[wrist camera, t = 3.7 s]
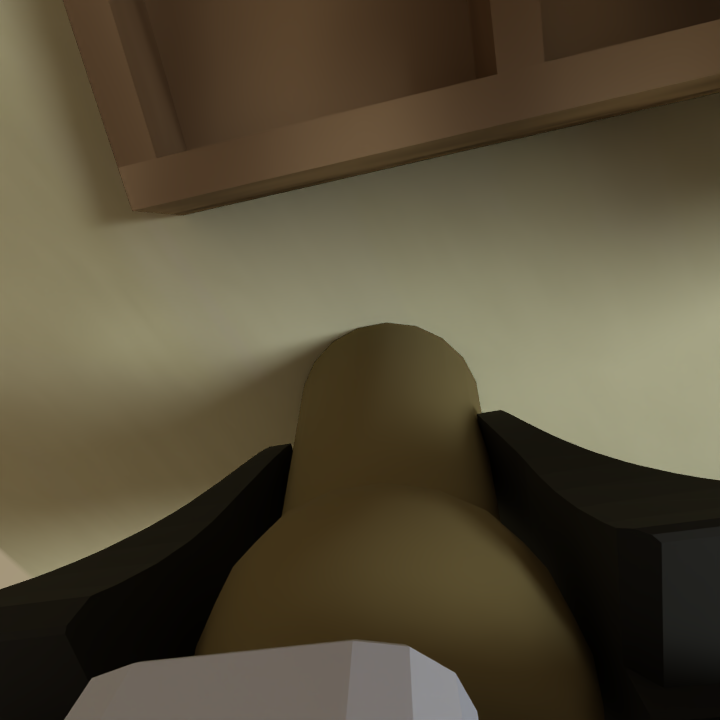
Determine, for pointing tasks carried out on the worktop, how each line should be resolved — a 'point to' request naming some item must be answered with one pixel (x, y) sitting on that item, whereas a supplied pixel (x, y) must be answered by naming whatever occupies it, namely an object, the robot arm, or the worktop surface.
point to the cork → (406, 537)
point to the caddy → (365, 82)
